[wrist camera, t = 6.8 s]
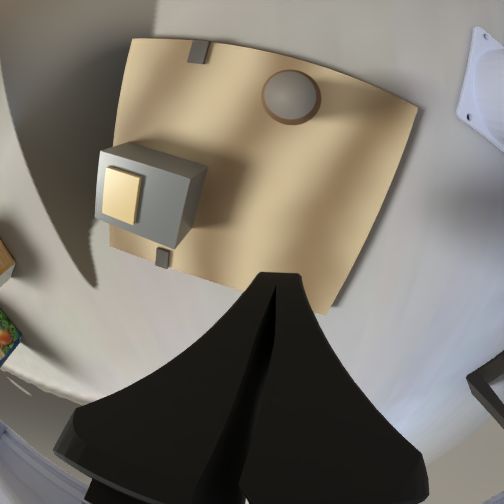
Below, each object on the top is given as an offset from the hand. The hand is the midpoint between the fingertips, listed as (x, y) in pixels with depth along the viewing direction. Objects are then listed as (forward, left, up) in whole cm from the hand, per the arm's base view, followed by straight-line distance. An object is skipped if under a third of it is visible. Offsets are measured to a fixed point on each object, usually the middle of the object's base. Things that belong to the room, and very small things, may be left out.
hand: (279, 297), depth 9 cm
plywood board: (+4, -1, -10) cm, 10 cm away
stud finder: (+9, +1, -9) cm, 12 cm away
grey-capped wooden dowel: (+2, -6, -9) cm, 11 cm away
